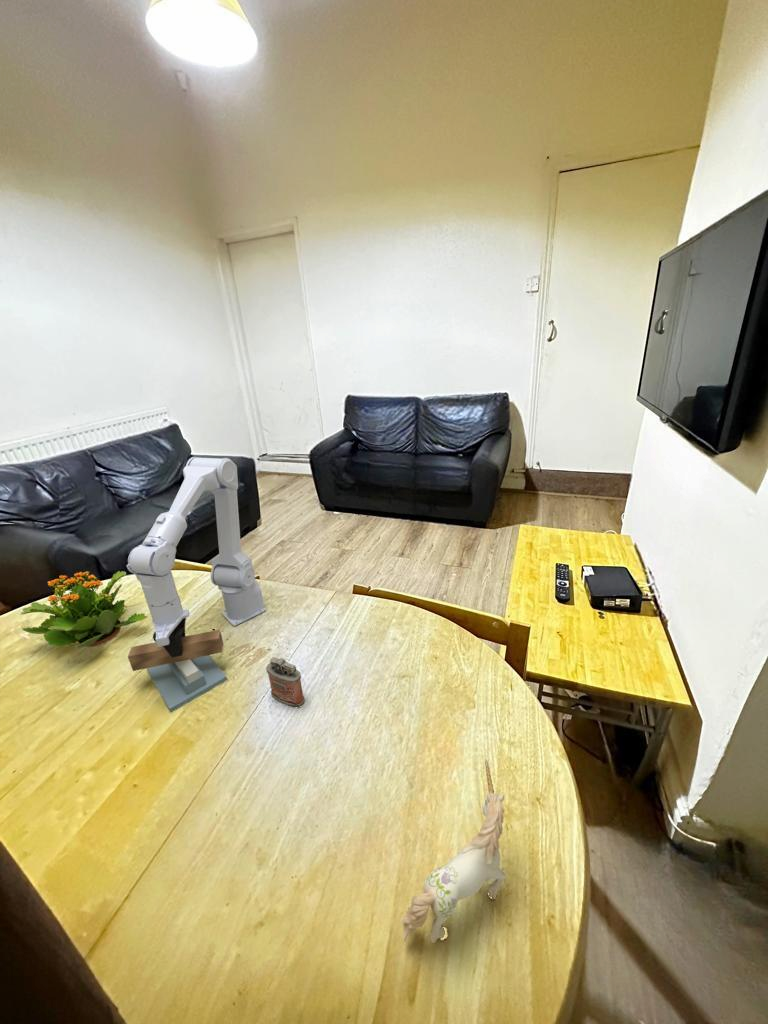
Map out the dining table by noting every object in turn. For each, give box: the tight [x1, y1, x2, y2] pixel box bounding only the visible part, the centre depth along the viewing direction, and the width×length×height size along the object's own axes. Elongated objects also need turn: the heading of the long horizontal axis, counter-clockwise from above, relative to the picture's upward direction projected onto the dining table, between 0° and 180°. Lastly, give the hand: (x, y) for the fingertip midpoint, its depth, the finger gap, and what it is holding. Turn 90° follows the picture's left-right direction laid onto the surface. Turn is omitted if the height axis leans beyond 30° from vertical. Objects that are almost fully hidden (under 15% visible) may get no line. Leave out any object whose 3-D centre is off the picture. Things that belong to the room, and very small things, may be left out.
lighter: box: [265, 656, 306, 708], centre depth 84 cm, size 8×3×10 cm, turn 62°
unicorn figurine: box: [401, 758, 506, 944], centre depth 53 cm, size 7×20×13 cm, turn 137°
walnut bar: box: [127, 629, 224, 672], centre depth 90 cm, size 18×3×4 cm, turn 106°
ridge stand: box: [146, 655, 228, 713], centre depth 92 cm, size 16×12×6 cm
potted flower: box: [20, 570, 148, 649], centre depth 103 cm, size 25×24×18 cm
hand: (178, 649), depth 90 cm, fingers closed on walnut bar, 3 cm apart
